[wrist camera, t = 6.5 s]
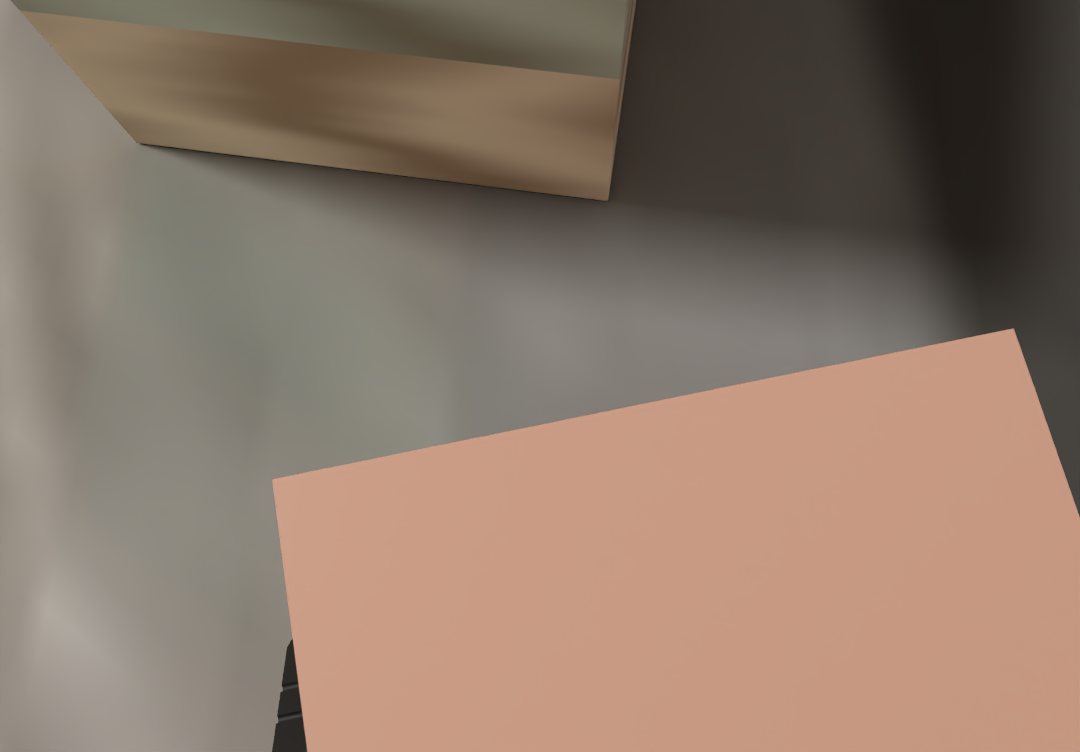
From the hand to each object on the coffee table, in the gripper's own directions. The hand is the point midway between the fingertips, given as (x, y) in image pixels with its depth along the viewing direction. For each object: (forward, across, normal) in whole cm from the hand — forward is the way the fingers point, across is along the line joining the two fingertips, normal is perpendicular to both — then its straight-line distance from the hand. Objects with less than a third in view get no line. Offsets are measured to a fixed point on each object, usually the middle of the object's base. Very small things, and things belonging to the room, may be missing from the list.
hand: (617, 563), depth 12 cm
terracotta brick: (+2, 0, +4) cm, 5 cm away
